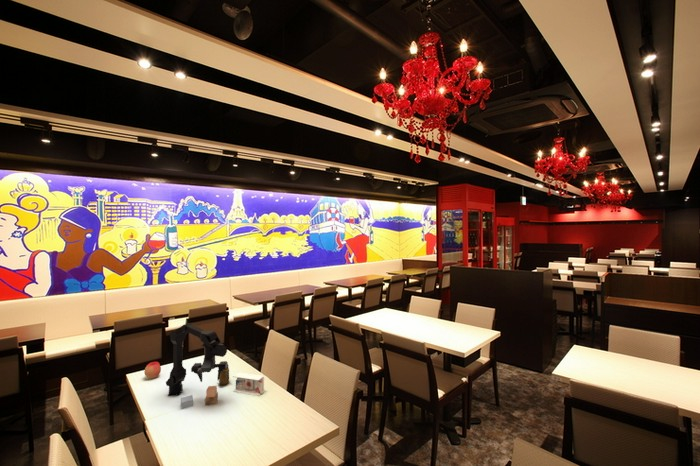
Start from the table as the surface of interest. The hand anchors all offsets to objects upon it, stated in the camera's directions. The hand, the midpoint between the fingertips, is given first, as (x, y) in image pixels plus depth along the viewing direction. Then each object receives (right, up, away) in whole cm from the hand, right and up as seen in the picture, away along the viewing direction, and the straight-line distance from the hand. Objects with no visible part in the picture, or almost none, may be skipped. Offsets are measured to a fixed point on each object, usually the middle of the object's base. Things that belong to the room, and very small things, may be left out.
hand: (209, 381), depth 180 cm
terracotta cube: (+1, -8, -1) cm, 8 cm away
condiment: (0, -12, +21) cm, 24 cm away
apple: (-53, -13, +32) cm, 64 cm away
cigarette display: (+19, -12, +11) cm, 25 cm away
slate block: (-11, -12, -4) cm, 17 cm away
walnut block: (+1, -12, -1) cm, 12 cm away
